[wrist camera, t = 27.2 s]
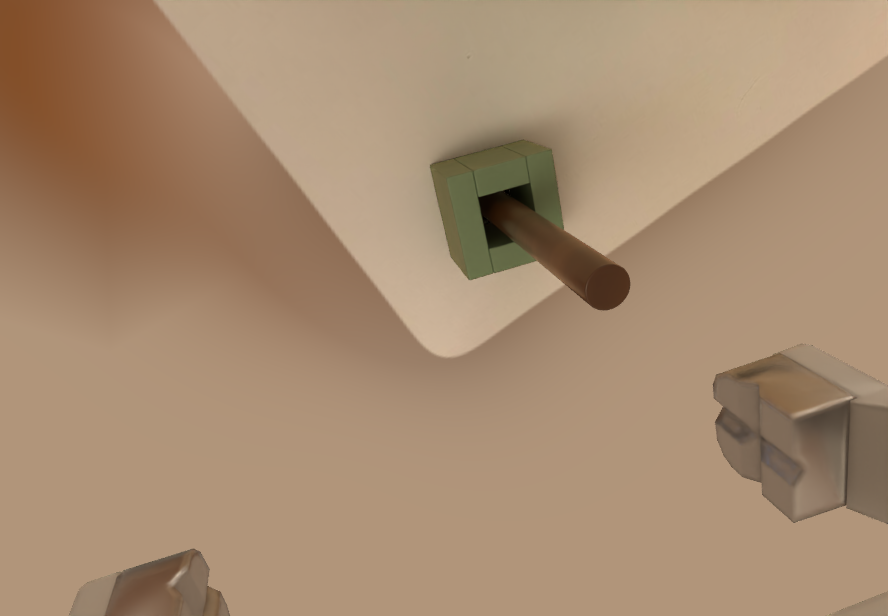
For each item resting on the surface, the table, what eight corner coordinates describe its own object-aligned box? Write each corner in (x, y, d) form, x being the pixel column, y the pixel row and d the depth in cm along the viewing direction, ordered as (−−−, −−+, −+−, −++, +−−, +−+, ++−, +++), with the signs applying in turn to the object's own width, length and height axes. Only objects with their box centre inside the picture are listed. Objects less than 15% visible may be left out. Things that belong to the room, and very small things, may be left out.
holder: (450, 257, 44) (469, 280, 39) (429, 164, 41) (445, 177, 37) (539, 232, 44) (567, 252, 40) (524, 139, 42) (551, 149, 37)
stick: (476, 218, 43) (586, 315, 27) (471, 188, 42) (583, 270, 26) (504, 211, 43) (632, 304, 27) (501, 182, 43) (629, 259, 26)
